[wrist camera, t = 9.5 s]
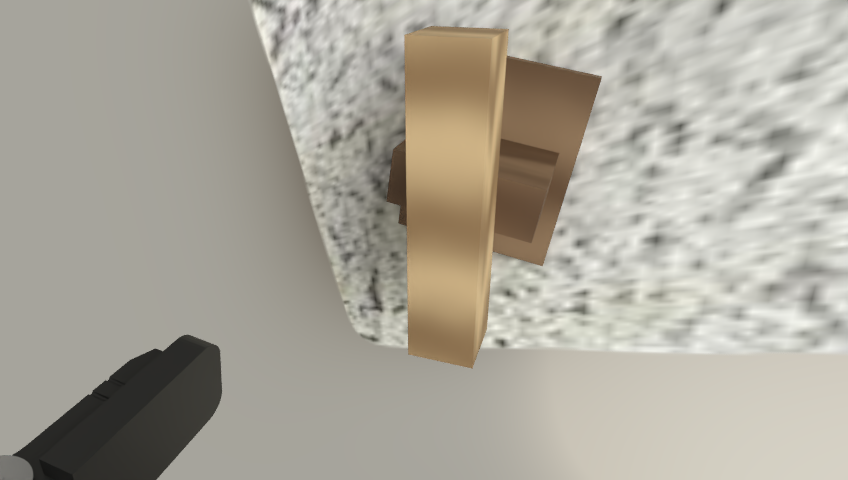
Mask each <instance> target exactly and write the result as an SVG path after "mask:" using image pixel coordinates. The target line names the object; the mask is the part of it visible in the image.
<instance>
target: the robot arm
mask: <svg viewBox="0 0 848 480" xmlns="http://www.w3.org/2000/svg"><path fill="white" fill-rule="evenodd" d="M221 394H222V383H221V362H220V350H219V348H218V346H216V345H214V344H211V343H209V342H206V341H203V340H201V339H198V338H196V337H193V336H191V335H184V336H181V337H180V338H178V339H177V340H176V341H175V342H174V343H172V344H171V345H170V346H169V347H168V348H167V349H165V350H164V351H160V350H158V349H153V350H151V351H149V352H147V353H145V354H143V355H140V356H138V357H136V358H134V359H132V360H130V361H129V362H127V363H126V364H125V365H124V366H122V367H121V368H120V369H119V370H117V371H116V372H115V373H114V374H113V375H111V376H110V378H109V380H108V381H104V382H103V383H102V384H100V385H99V386H98V387H97V388H96V389H94V390H93V392H92V394H91V395H87V396H86V397H85V398H83V399H82V400H81V401H80V402H79V403H77V404H76V405H75V406H74V407H73V408H71V409H70V410H69V411H68V412H66V413H65V414H64V415H63V416H62V417H60V418H59V419H58V420H57V421H56V422H54V423H53V424H52V425H51V426H49V427H48V428H47V429H46V430H45V431H43V432H42V433H41V434H40V435H39V436H37V437H36V438H35V439H34V440H32V441H31V442H30V443H29V444H28V445H26V446H25V447H24V448H22V449H21V450H20V451H18V452H17V453H15V454H13V455H12V456H11V455H2V456H0V480H156V479H157V478H158V477H159V476H160V475H161V474H162V473H163V471H164V470H165V469H166V468H167V467H168V466H169V465H170V463H171V462H172V461H173V460H174V459H175V458H176V457H177V456H178V454H179V453H180V452H181V451H182V450H183V449H184V448H185V447H186V445H187V444H188V443H189V442H190V441H191V440H192V439H193V438H194V436H195V435H196V434H197V433H198V432H199V431H200V430H201V429H202V427H203V426H204V425H205V424H206V423H207V422H208V420H210V418H211V417H212V416H213V414H214V413H215V411H216V409H217V407H218V405H219V402H220V399H221Z"/></svg>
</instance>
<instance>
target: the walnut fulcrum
mask: <svg viewBox="0 0 848 480" xmlns="http://www.w3.org/2000/svg"><path fill="white" fill-rule="evenodd" d="M601 78H602V76H597V75H592V74H588V73H583V72H579V71H574V70H570V69H565V68H560V67H556V66H551V65H547V64H542V63H537V62H533V61H528V60H524V59H519V58H515V57H510V56H507V58H506V72H505V86H504V99H503V113H502V127H501V141H500V154H499V168H498V182H497V196H496V209H495V223H494V237H493V251H494V252H497V253H500V254H504V255H507V256H510V257H514V258H517V259H520V260H524V261H527V262H531V263H534V264H537V265H541V266H543V263H544V260H545V257H546V253H547V250H548V247H549V244H550V241H551V237H552V234H553V231H554V228H555V225H556V222H557V218H558V215H559V212H560V209H561V206H562V202H563V199H564V196H565V193H566V190H567V187H568V183H569V180H570V177H571V174H572V171H573V167H574V164H575V161H576V158H577V155H578V152H579V148H580V145H581V142H582V139H583V136H584V132H585V129H586V126H587V123H588V120H589V117H590V113H591V110H592V107H593V104H594V101H595V97H596V94H597V91H598V88H599V85H600V82H601ZM387 202H390V203H394V204H397V205H401V208H400V215H399V222H398V223H399V224H403V225H406V226H407V198H406V139H405V140H404V141H403V142H402V143H400V144H399V145H398V146H397V147H395V148H394V149H393V155H392V163H391V171H390V179H389V187H388V194H387Z"/></svg>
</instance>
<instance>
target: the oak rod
mask: <svg viewBox="0 0 848 480" xmlns="http://www.w3.org/2000/svg"><path fill="white" fill-rule="evenodd" d="M508 30H509V29H489V28H463V27H438V26H431V27H427V28H424V29H421V30H418V31H415V32H412V33H409V34H406V35H405V114H406V198H407V282H408V354H409V355H414V356H418V357H423V358H427V359H432V360H437V361H441V362H446V363H450V364H455V365H460V366H464V367H469V368H473V365H474V362H475V360H476V357H477V354H478V352H479V349H480V346H481V343H482V341H483V338H484V335H485V333H486V330H487V320H488V306H489V292H490V278H491V264H492V251H493V237H494V223H495V209H496V196H497V182H498V168H499V154H500V141H501V127H502V113H503V99H504V86H505V72H506V58H507V44H508Z"/></svg>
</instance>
